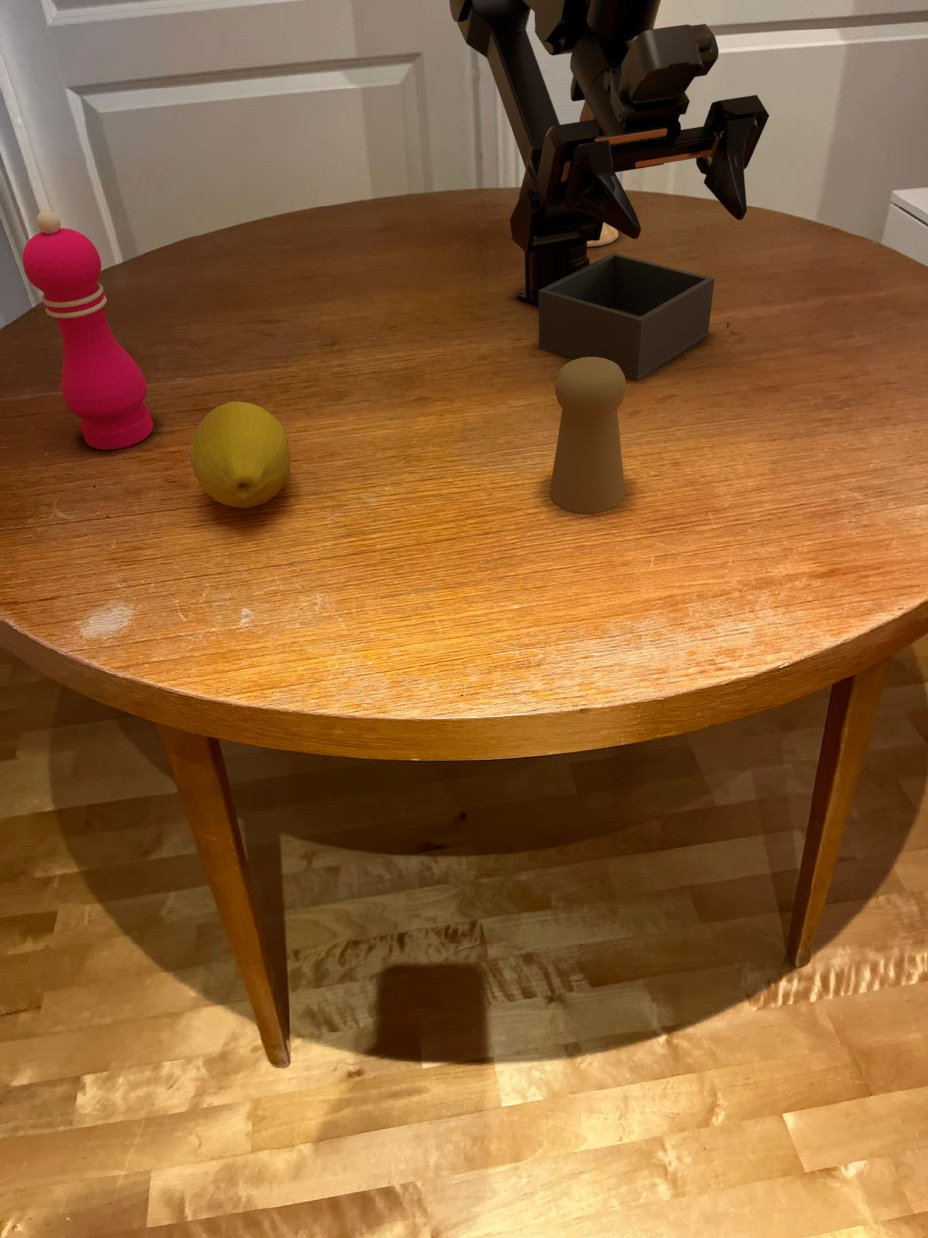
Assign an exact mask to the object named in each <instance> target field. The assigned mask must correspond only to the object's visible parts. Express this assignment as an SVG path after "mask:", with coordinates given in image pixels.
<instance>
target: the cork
mask: <svg viewBox="0 0 928 1238" xmlns="http://www.w3.org/2000/svg"><path fill="white" fill-rule="evenodd" d="M626 386H627V381H626V377H625V376H624V374H623V372H622V370H621V369H620V367H619V365H617V364H616V363H614V362H612V361H610V360H607V359H605V358H599V357H584V358H579V359H575V360H574V359H572V360H571V361H569V362H567V363H565V364H564V365H562V367H561V368H560V370H559V371H558V373H557V376H556V379H555V384H554V392H555V397H556V401H557V402H558V404H559V406H560V408H562V409H561V416H560V421H559V429H558V436H557V441H556V447H555V448H556V449H555V455H554V459H553V461H554V462H553V467H552V474H551V479H550V480H551V481H550V485H549V486H550V487H549V492H548V494H549V496H550V499H551V501H552V502H553V503H554V504H556V506H558V507H560V508H562V509H564V510H566V511H569V512H573V513H577V514H596V513H603V512H606V511H607V510H608V511H609V510H611V509H614V508H615V507H616V506H617V505H620V504H621V502H622V501H623V499H624V498H625V493H626V492H625V491H626V489H625V488H626V487H625V479H624V467H623V456H622V446H621V435H620V424H619V412H618V408H619V407H620V405H622V404H623V402H624V398H625V395H626Z"/></svg>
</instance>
